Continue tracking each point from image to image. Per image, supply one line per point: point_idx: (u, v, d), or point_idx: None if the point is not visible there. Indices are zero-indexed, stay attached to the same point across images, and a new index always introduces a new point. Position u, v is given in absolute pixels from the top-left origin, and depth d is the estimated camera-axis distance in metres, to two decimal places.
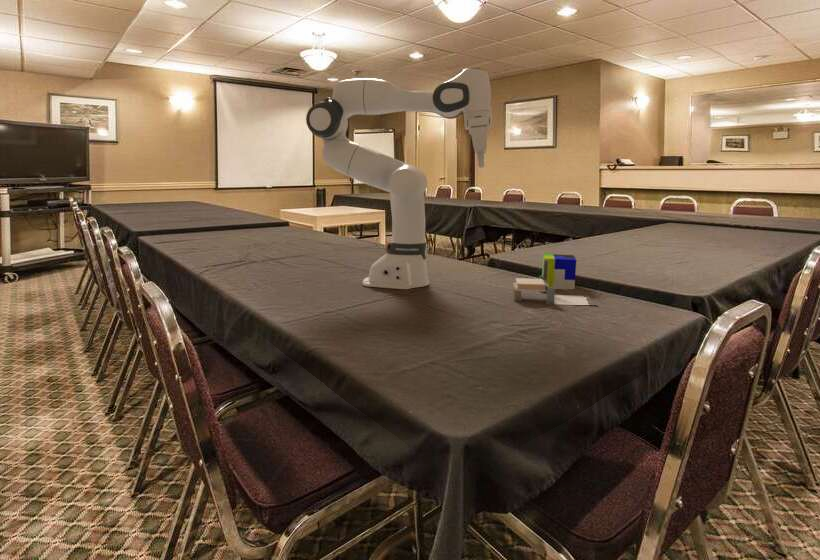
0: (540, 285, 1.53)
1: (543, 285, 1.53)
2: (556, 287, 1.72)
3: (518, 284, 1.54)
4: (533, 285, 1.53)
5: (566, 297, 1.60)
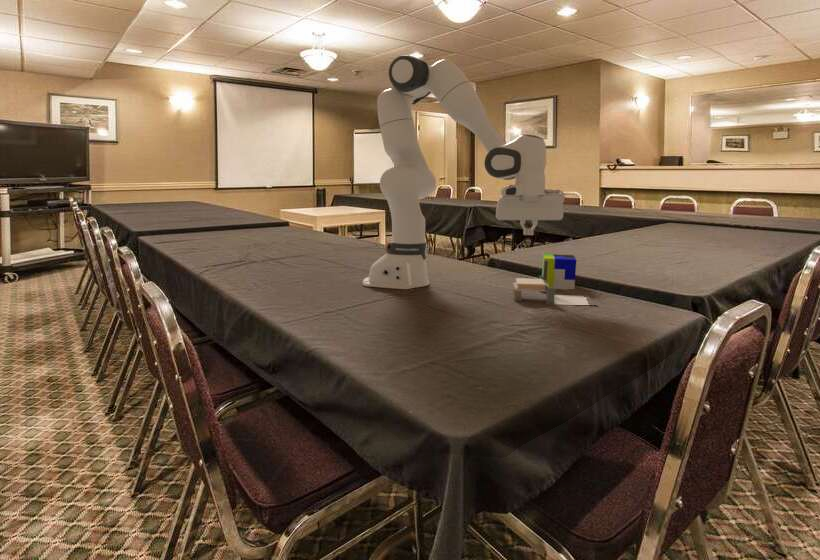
0: (540, 285, 1.53)
1: (543, 285, 1.53)
2: (556, 287, 1.72)
3: (518, 284, 1.54)
4: (533, 285, 1.53)
5: (566, 297, 1.60)
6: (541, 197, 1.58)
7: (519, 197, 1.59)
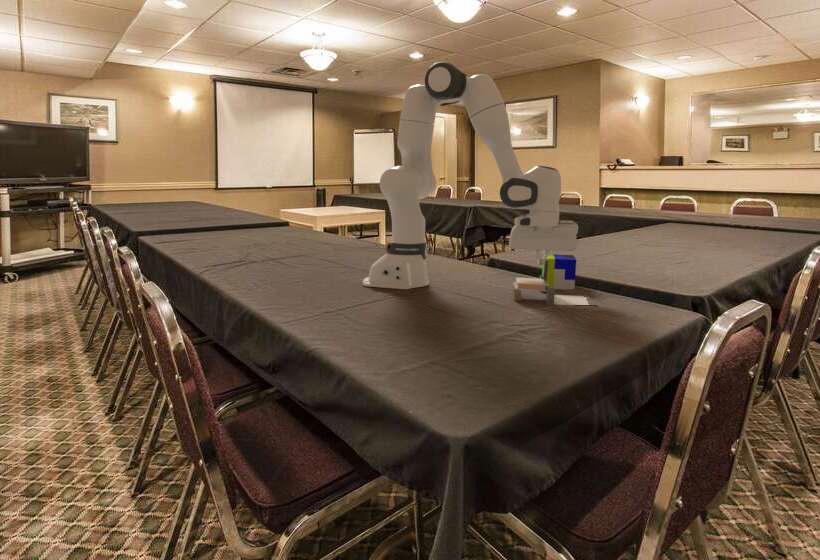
0: (540, 285, 1.53)
1: (543, 285, 1.53)
2: (556, 287, 1.72)
3: (518, 283, 1.54)
4: (533, 285, 1.53)
5: (566, 297, 1.60)
6: (555, 228, 1.60)
7: (533, 227, 1.60)
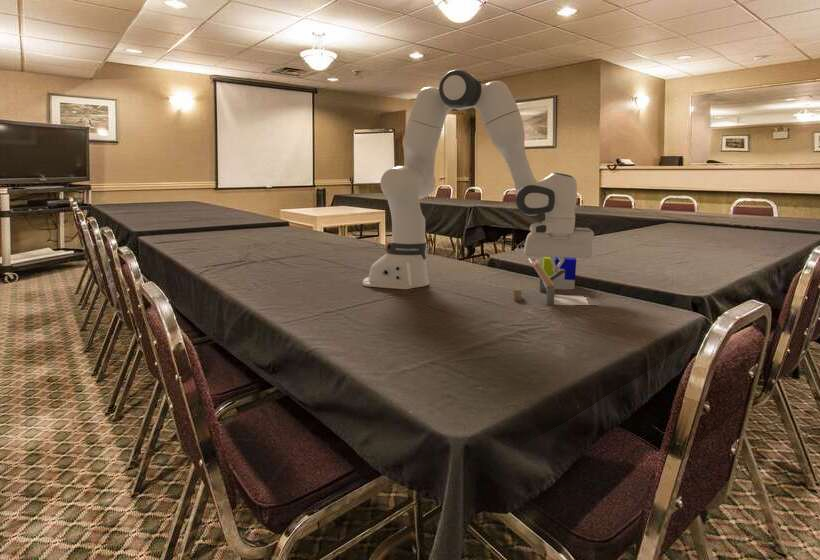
0: (550, 281, 1.52)
1: (551, 283, 1.52)
2: (556, 287, 1.72)
3: (538, 263, 1.52)
4: (546, 275, 1.52)
5: (566, 297, 1.60)
6: (571, 235, 1.59)
7: (549, 235, 1.60)
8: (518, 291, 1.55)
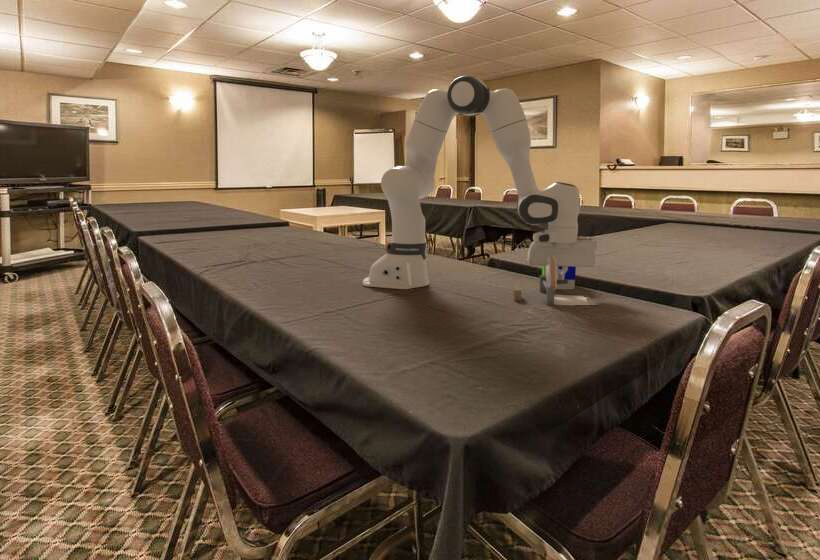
0: (555, 282, 1.52)
1: (555, 285, 1.52)
2: None
3: (555, 261, 1.51)
4: (554, 276, 1.52)
5: (566, 297, 1.60)
6: (574, 244, 1.60)
7: (552, 244, 1.60)
8: (518, 291, 1.55)
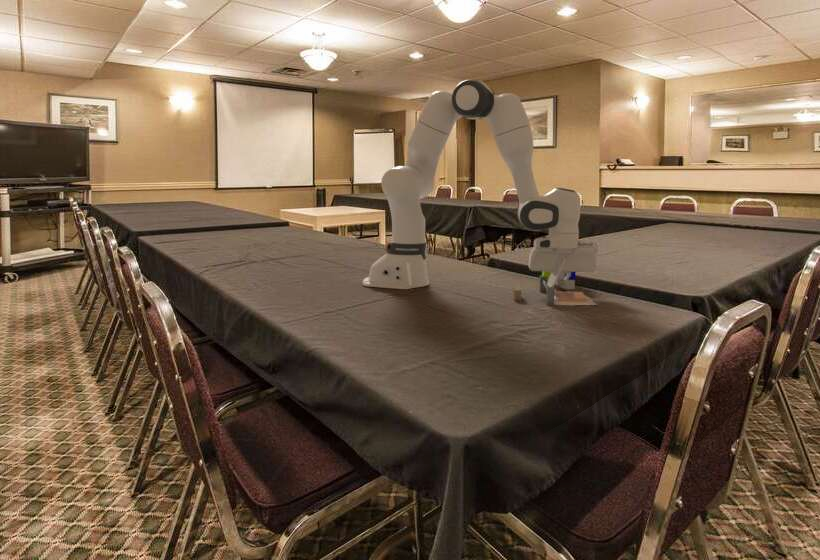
0: (563, 301, 1.53)
1: (560, 301, 1.53)
2: None
3: (586, 302, 1.52)
4: (570, 301, 1.53)
5: None
6: (575, 249, 1.60)
7: (553, 249, 1.60)
8: (518, 291, 1.55)
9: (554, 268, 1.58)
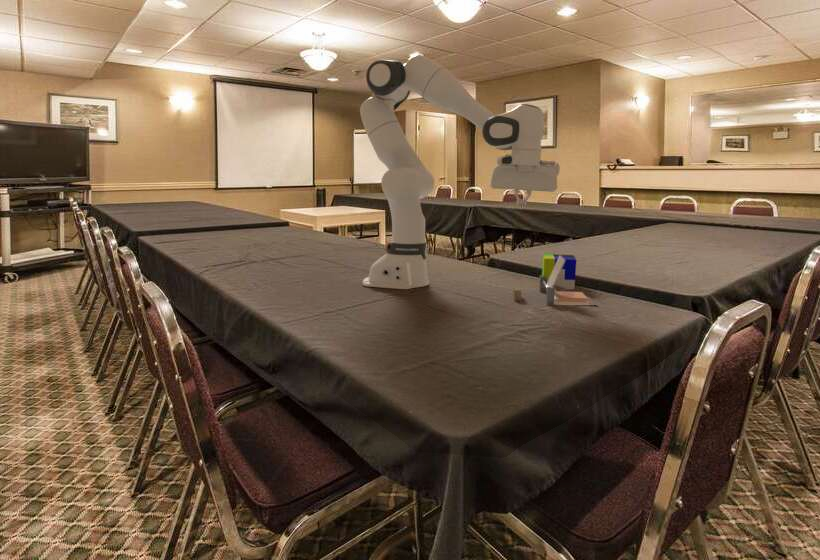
0: (563, 301, 1.53)
1: (560, 301, 1.53)
2: None
3: (586, 302, 1.52)
4: (570, 301, 1.53)
5: None
6: (536, 168, 1.60)
7: (514, 166, 1.60)
8: (518, 291, 1.55)
9: (554, 268, 1.58)
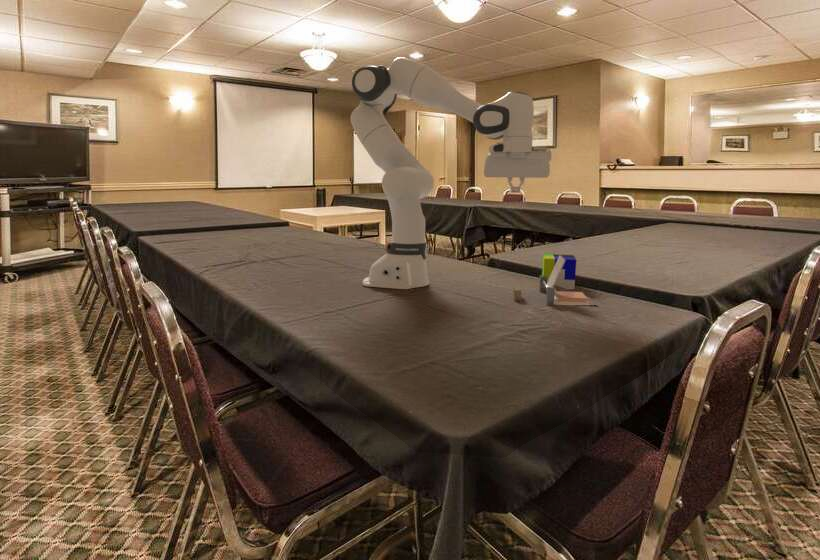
0: (563, 301, 1.53)
1: (560, 301, 1.53)
2: None
3: (586, 302, 1.52)
4: (570, 301, 1.53)
5: None
6: (528, 154, 1.61)
7: (506, 154, 1.61)
8: (518, 291, 1.55)
9: (554, 268, 1.58)
